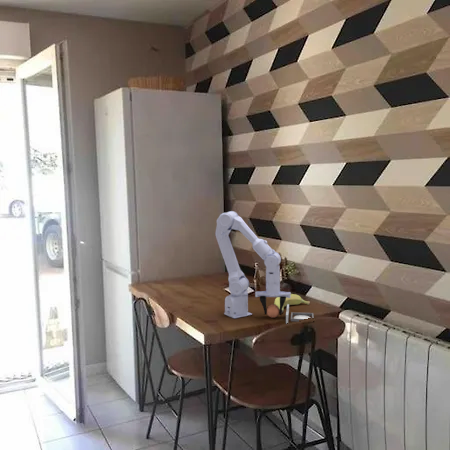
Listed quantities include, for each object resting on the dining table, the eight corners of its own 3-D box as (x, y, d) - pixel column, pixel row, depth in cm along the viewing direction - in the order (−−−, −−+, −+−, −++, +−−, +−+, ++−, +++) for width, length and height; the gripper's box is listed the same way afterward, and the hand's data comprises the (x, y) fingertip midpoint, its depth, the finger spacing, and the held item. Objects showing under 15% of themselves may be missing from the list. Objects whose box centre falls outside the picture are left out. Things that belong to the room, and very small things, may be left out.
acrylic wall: (288, 323, 195) (288, 315, 194) (286, 323, 195) (285, 315, 194) (288, 312, 210) (289, 304, 210) (287, 312, 210) (287, 304, 210)
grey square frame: (290, 321, 198) (290, 318, 198) (291, 314, 207) (291, 312, 207) (313, 321, 196) (313, 319, 196) (313, 315, 205) (313, 313, 205)
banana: (267, 291, 219) (305, 292, 226) (264, 302, 220) (302, 302, 228) (280, 306, 207) (320, 306, 215) (277, 317, 209) (317, 317, 216)
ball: (271, 320, 200) (271, 307, 199) (263, 316, 204) (263, 304, 204) (282, 317, 203) (282, 304, 202) (274, 314, 207) (273, 302, 207)
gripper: (254, 283, 199) (254, 316, 200) (290, 284, 197) (290, 317, 198) (256, 280, 206) (256, 311, 207) (290, 280, 204) (290, 312, 205)
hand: (272, 314), depth 203 cm, fingers closed on ball, 5 cm apart
